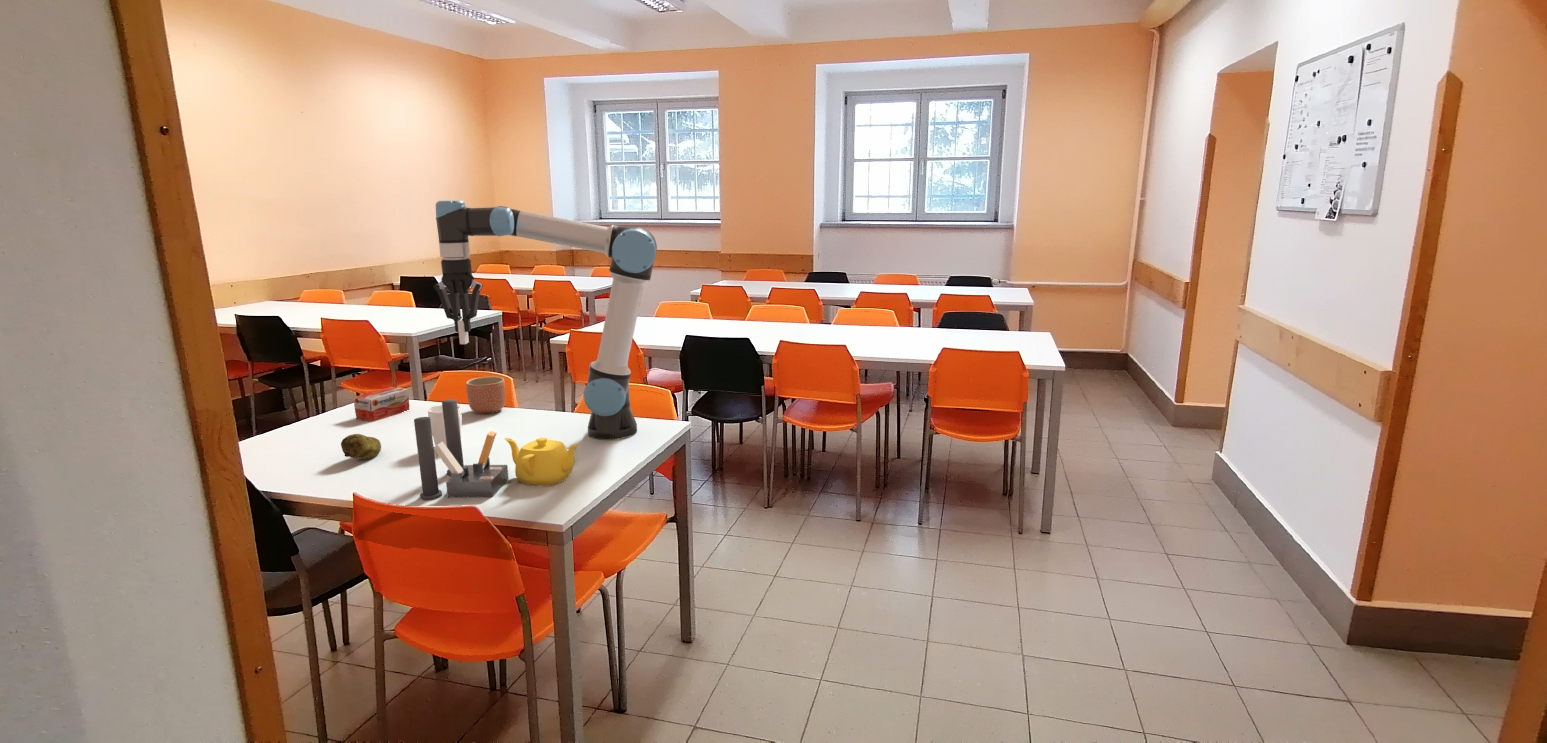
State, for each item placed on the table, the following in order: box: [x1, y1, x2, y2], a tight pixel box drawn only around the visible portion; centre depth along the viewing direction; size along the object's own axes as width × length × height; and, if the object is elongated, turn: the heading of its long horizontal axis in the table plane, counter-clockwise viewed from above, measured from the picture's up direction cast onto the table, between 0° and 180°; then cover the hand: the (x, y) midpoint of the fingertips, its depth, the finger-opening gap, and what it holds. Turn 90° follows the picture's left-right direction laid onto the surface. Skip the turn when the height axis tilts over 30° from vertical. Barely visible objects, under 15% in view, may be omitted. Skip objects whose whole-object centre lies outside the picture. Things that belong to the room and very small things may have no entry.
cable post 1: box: [413, 416, 443, 501], centre depth 185 cm, size 5×5×20 cm
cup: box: [427, 404, 463, 447], centre depth 222 cm, size 9×9×12 cm
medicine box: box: [353, 386, 410, 422], centre depth 256 cm, size 15×8×8 cm, turn 156°
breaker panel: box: [445, 457, 510, 498], centre depth 191 cm, size 11×12×6 cm
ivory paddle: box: [433, 441, 466, 477], centre depth 186 cm, size 2×3×10 cm, turn 179°
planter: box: [465, 376, 506, 415], centre depth 259 cm, size 12×12×11 cm
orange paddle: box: [477, 430, 497, 467], centre depth 193 cm, size 2×3×10 cm, turn 1°
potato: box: [340, 433, 382, 460], centre depth 213 cm, size 8×13×8 cm, turn 157°
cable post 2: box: [441, 398, 465, 477], centre depth 200 cm, size 5×5×20 cm
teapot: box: [504, 437, 580, 486], centre depth 196 cm, size 22×16×11 cm
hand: (464, 343), depth 211 cm, fingers closed
